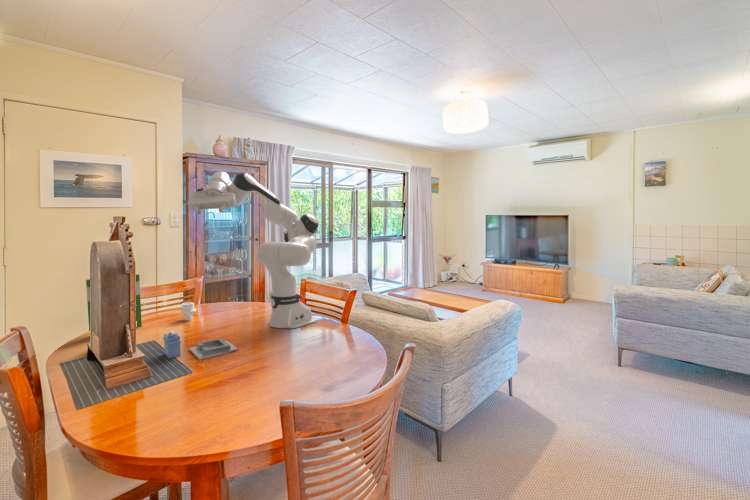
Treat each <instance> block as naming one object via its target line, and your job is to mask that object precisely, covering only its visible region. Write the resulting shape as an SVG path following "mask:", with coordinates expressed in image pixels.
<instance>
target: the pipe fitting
mask: <svg viewBox="0 0 750 500" xmlns="http://www.w3.org/2000/svg"><path fill="white" fill-rule="evenodd" d="M181 307H182V309H181V310H179V313H180V314H184V320H185V321H192V320H193V314H194V313H195V312H197V308H195V302H192V301H190V302H189V301H187V302H183V303H182V304H181Z"/></svg>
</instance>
